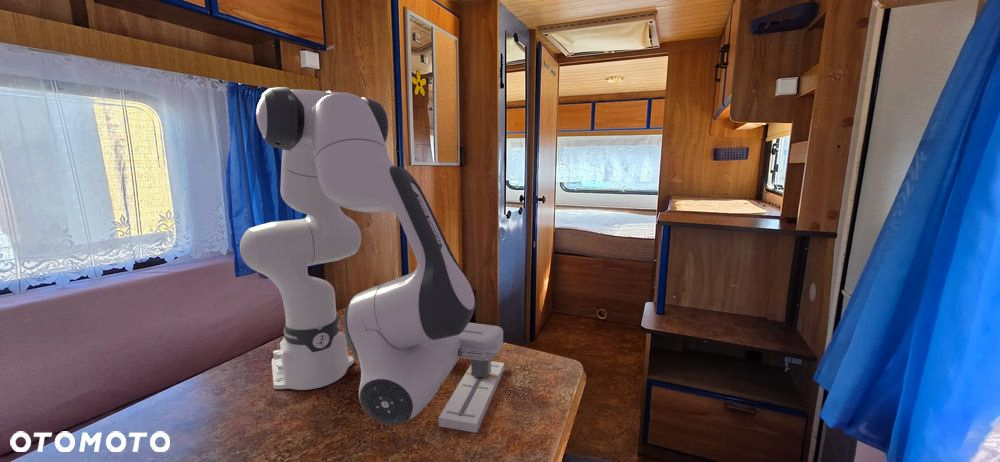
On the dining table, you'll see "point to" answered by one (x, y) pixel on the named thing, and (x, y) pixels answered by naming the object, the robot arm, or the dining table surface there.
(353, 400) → the dining table surface
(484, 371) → the slider knob
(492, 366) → the slider box
